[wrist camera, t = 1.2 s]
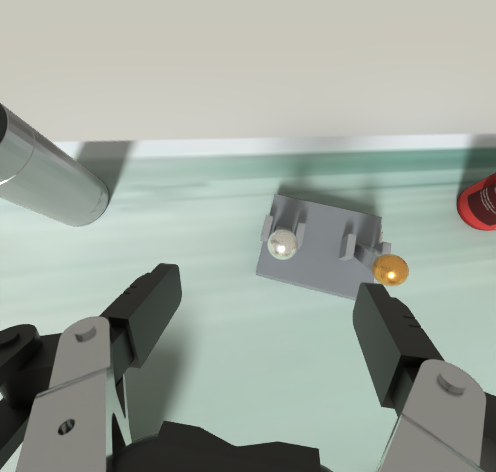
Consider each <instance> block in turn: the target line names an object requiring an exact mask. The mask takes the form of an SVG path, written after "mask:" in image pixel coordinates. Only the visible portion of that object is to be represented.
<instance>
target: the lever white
mask: <svg viewBox="0 0 496 472" xmlns="http://www.w3.org/2000/svg"><path fill="white" fill-rule="evenodd" d="M297 249H298V240H297V238H296V236H295V235H294V234H293V233H292V229H291V228H286V227H282V226H278V225H275V228H274V232H273V233H272V234H271V236H270V237H269V239H268V250H269V252H270V253H271V255H272V256H273V257H275V258H277V259H280V260H286V259H289V258H291V257H292V256H294V255H295V253H296V252H297Z"/></svg>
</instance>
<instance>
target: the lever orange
mask: <svg viewBox="0 0 496 472" xmlns="http://www.w3.org/2000/svg"><path fill="white" fill-rule="evenodd" d="M353 257H355V258H356V259H357V260H358V261H359V262H361V263H362V264H363V265H364V266H365V267H367V268H368V269H369V270H370V271H372V273H373V276H374V277H375V279H376V280H377V281H378V282H380V283H381V284H383V285H386V286H397V285H400V284H402V283H403V282H404V281H405V280H406V279H407V277H408V274H409V269H408V265H407V263H406V262H405V261H404V260H403V259H402V258H401V257H399V256H396V255H393V254H384V253H382V252H380V251H378V250H376V249H375V248H373V247H369V246H364V245H360V244H356V243H355V249H354V256H353Z"/></svg>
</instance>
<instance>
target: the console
mask: <svg viewBox="0 0 496 472" xmlns="http://www.w3.org/2000/svg"><path fill="white" fill-rule="evenodd" d="M381 219H382V217H378V216H374V215H369V214H364V213H360V212H355V211H351V210H346V209H342V208H337V207H332V206H328V205H323V204H319V203H314V202H309V201H305V200H300V199H296V198H291V197H287V196H282V195H277V194H275V196H274V200H273V204H272V208H271V212H270V216H268V215H266V218H265V222H264V226H263V230H262V234H261V241H263V245H262V249H261V253H260V257H259V261H258V265H257V269H256V275H257V276H261V277H265V278H269V279H273V280H277V281H281V282H284V283H288V284H292V285H296V286H300V287H304V288H308V289H312V290H316V291H320V292H324V293H328V294H332V295H336V296H340V297H344V298H348V299H352V300H356V298H357V294H358V290H359V286H360V284H361V283H362V282H365V283H375V277H374V276H373V273H372V271H370V270H369V269H368V268H367V267H365V266H364V265H363V264H362V263H361V262H359V261H358V260H357V259H356V258H355V257H353V256H354V249H355V243H356V244H360V245H364V246H369V247H373V248H375V249H376V250H378V251H380V252H382V253H384V254H390V251H391V243H387V242H382V236H383V232H381V229H382V225H381ZM275 225H278V226H282V227H286V228H291V229H292V233H293V234H294V235H295V236H296V238H297V240H298V249H297V252H296V253H295V255H294V256H292V257H291V258H289V259H286V260H280V259H277V258H275V257H273V256H272V255H271V253H270V252H269V250H268V239H269V237H270V236H271V234H272V233H273V232H274V228H275Z"/></svg>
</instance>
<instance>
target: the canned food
mask: <svg viewBox="0 0 496 472" xmlns="http://www.w3.org/2000/svg"><path fill="white" fill-rule="evenodd" d="M457 209H458V212H459V215H460V216H461V218H462V219H463V220H464V222H466V223H467V224H468V225H469V226H471V227H473V228H475V229H479V230H486V231H489V230H496V173H494V174H492V175H490V176H489V177H487V178H485V179H483V180H481V181H479V182H477V183H476V184H474V185H472V186H470V187H468V188H467V189H466V190H465V191H464V192H463V193H462V194H461V195H460V196H459V198H458V201H457Z"/></svg>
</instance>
